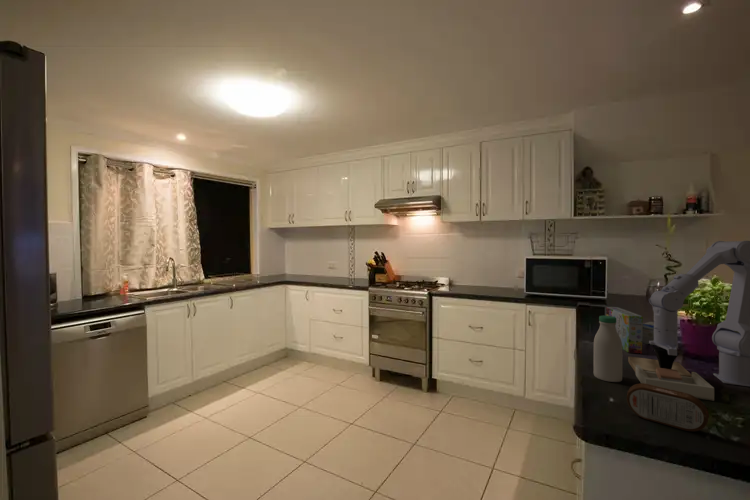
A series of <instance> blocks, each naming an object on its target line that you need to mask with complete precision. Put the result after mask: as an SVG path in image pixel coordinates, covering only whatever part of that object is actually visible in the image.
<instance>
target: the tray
mask: <svg viewBox="0 0 750 500" xmlns="http://www.w3.org/2000/svg"><path fill="white" fill-rule="evenodd" d="M691 375H692V377H687V376H681V377H682V381H683V382H684V383H681V382H674V381H666V380H659V378H658V376H657V374H656V372H649V371H643V369H642V368H641V367H640V365H636V373H635V377H636V378H637V380H638V381H639V382H640V383H639V384H641V383H644V384H649V385H654V386H658V387H662V388H666V389H671V390H675V391H679V392H684V393H688V394H690V395H693V396H695V397H696V398H698V399H699V400H704V401H705V400H707V401H713V402H714V401H715V387H714V386H713V385H711V384H710V383H709V382H708V381H706V380H705V379H704V378H703V377H702V376H701V375H700V374H699V373H697V372H696V371H691Z"/></svg>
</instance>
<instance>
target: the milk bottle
mask: <svg viewBox="0 0 750 500" xmlns="http://www.w3.org/2000/svg"><path fill="white" fill-rule="evenodd" d="M598 320H599V321H598V323H599V328H598V330H597V331H596V333H595V336H594V339H593V376H594V377H595V378H596V379H598V380H601V381H605V382H609V383H611V382H612V383H620V382H622V381H623V349H622V342H621V339H620V337H619V335H618V333H617V330H616V326H615V325H616V317H613V316H606V315H599V317H598Z"/></svg>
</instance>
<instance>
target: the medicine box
mask: <svg viewBox="0 0 750 500" xmlns="http://www.w3.org/2000/svg"><path fill="white" fill-rule="evenodd" d="M653 340H654V321H648V322H645V323H644V322H643V337H642V344H644V345H648V344H650V343H649V341H653ZM653 345H654V344H650V345H649V346H653ZM654 346H655V345H654Z"/></svg>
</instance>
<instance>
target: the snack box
mask: <svg viewBox="0 0 750 500" xmlns="http://www.w3.org/2000/svg"><path fill="white" fill-rule="evenodd" d="M605 316H613V317H616V325H615V326H616V330H617V333H618V335H619V337H620V339H621V342H622V351H625V352H626V353H628V354H639V353H640V354H639V355H642V354H643V343H642V337H643V324H644V316H642V315H640V314H638V313H635V312H632V311H630V310H628V309H624V308H621V307H618V306H606V307H605Z"/></svg>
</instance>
